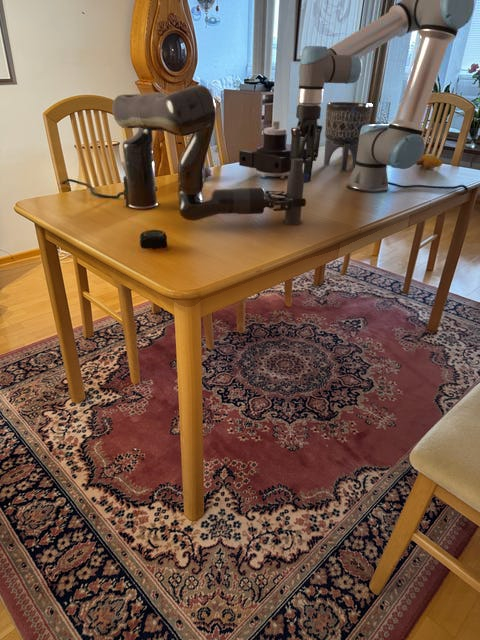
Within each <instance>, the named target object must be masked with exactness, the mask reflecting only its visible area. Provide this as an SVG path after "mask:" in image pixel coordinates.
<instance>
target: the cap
mask: <svg viewBox="0 0 480 640" xmlns="http://www.w3.org/2000/svg"><path fill="white" fill-rule="evenodd" d="M303 175H304V177H303V178H304V184H308V183H310V182H309V174H306V173H303Z"/></svg>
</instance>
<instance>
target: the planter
mask: <svg viewBox="0 0 480 640" xmlns="http://www.w3.org/2000/svg"><path fill="white" fill-rule="evenodd" d="M373 107H374V106H373V104H372V103H367V102H353V101H333V102H327V103H326V109H325V124H324V125H325V126H324V139H325V144H324V156H323V157H324V158H323V165H325V166H328V165H330V163H331V158H332V156H333V154H334V153H335V151H336V150H337V149H340V148H341V152H342V153H341V166H340V170H341V172H345V171H347V167H348V166H347V165H348V159H349V153H348V152H349V150H350V151H351V153H352V154H351V157H352V158H351V159H352V160H351V161H352V166H353V167H355V165H356V158H357V151H358V143H359V135H360V131H361V128H362V127H363V126H364V125H370V121H371V116H372V112H373Z"/></svg>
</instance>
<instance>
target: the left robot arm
mask: <svg viewBox="0 0 480 640" xmlns="http://www.w3.org/2000/svg"><path fill="white" fill-rule="evenodd" d="M216 107H217V106H216V102H215V99H214V96H213V94H212V93H211V91H210V89H209V88H208V87H207V86H205V85H204V84H203V85H202V84H196V85H192V86H189V87H186V88H183V89H180V90H177V91H174V92H172V93H169V94H165V93H163V92H159V91H153V92H152V91H151V92H146V93H138V94H134V93H133V94H132V93H131V94H119V95H117V96H116V97H115V98H114V99H113V102H112V116H113V117H114V121H115V123H116V124H117V125H118V126H119V127H120V128H122V129H138V130H137V132H136V133H135V134H134V135H133V136H132V137H130V138H128V139H126V140H123V142H122V154H123V164H124V172H125V175H124V176H123V179H122V180H123V188H124V189H123V191H120V192H118V193H117V194H116V195H107V194H102V193H97V192H95V190H94V187H92V185H90V184H88V183H86V182H82V181H79V180H76V179H72V178H66V179H67V180H66V179H65V180H66V181H64V180H63V181H62V182H61V184H62V185H64V184H66V183H68V182H71V183H75V184H78V185H82V186H85V187H87V188H88V189H90V193H91V194H92V195H93V196H96V197H100V198H103V199H104V198H106V199H118V198H120V197H121V196H123V199H124V200H125V206H126V207H128V208H130V209H134V210H150V209H153V208H156V207H158V199H157V192H158V187H157V186H156V185H157V184H156V172H155V159H154V133H153V131H154V132H167V133H169V134H171V135H173V136H177V137H187V136H190V135H191V136H190V138H189V140H188V143H187V144H186V146H185V147H184V149H183V151H182V154H181V155H180V158H179V161H178V164H177V183H178V187H177V188H178V189H177V190H178V191H177V192H178V194H177V195H178V196H177V198H178V210H179V215H180V216H181V218H182V219H184V220H186V221H190V222H196V221H200V220H202V219H206V218H209V217H213V216H217V215H230V214H232V215H262V214H263V213H264V212H265V208H266V209H267V208H269V209H270V210H273V212H281V211H285V210H292V208H293V207H302V208H303V207H306V203H307V200H306V198H305V197H304V198H303V197H302V198H300V199H292V198H286V195H287V192H286V191H284V190H265V191H264V188H263V187H237V188H219V189H214V190H213V191H212V192H211V195H210V199H208V200H205V201H204V197H203V189H204V185H205V178H204V171H205V166H206V160H207V155H208V153H209V152H208V151H209V149H210V145H211V141H212V137H213V132H214V128H215V124H216V119H217V108H216ZM287 203H289V205H286V204H287Z"/></svg>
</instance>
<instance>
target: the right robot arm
mask: <svg viewBox="0 0 480 640" xmlns="http://www.w3.org/2000/svg"><path fill="white" fill-rule="evenodd" d="M474 9H475V0H400V1H398V2H397V3H395V4H394V5H392V6H391V7H390V8H389V10H388V12H387V13H386V14H385V13H384V14H383V15H382V16H380V17H378V18H377V19H375V20H373V21H372V22H370V23H368V24H367V25H366V26H363V27H362V28H360V29H358V30H357V31H355V32H353V33H352V34H350V35H348V36H347V37H345V38H344V39H342V40H340V41H338V42H336V43H335V44H334V45H332V46H330V47H329V48H328V47H327V46H323V45H305V46H304V47H303V48H302V50H301V55H300V62H299V76H298V79H299V80H298V91H297V92H298V93H297V103H298V104H297V105H296V113H295V117H296V118H297V119H298V121H297V124H296V127H291V128H290V132H291V133H290V134H291V142H290V144H291V153H290V160H292V159H293V158H300V159H302V157H303V153H304V148H305V149H306V158H307V160H305V162H304V164H303V168H302V170H303V173H306V174H309V182H308V183H310V182H311V181H312V172H313V171H312V170H313V165H314V162H316V161H317V158H318V157H319V150H320V141H321V134H322V132H323V131H322V130H323V125H319V124H318V120H320V119H321V116H322V104H323V97H324V89H325V84H346V85H348V84H355V83H357V81H359V79H360V78H361V75H362V70H363V62H362V60H361V59H362V57H364V56H366V55H367V54H369V53H371V52H373V51H374V50H376V49H377V48H379V47H381V46H382V45H384V44H386V43H388V42H389V41H391V40H393V39H394V38H396V37H398V38H402V37H404V36H406V35H407V34H409V33H413V32H417V34H418V35H419V37H420V41H419V44H418V47H417V50H416V53H415V55H414V56H415V57H414V59H413V63H412V66H411V69H410V73H409V75H408V78H407V82H406V84H405V88H404V90H403V94H402V97H401V99H400V100H401V101H400V103H399V107H398V110H397V112H396V116H395V118H394V119H393V120H392V121H390V122H389V123H388V124H382V123H381V124H369V125H364V126H363V127H362V128H361V131H360V135H359V143H358V151H357V158H356V165H355V166H354V167H353V171H351V174H350V176H349V179H348V182H347V187H348V188H349V189H351V190H354V191H358V192H363V193H364V192H365V193H382V192H386V191H388V189H389V185H390V186H393V187H397V188H401V189H407V188H408V189H410V188H425V189H437V190H438V189H439V190H440V189H441V190H454V189H459V188H463V189H464V190H468V186H466V185H464V184H459V185H454V186H442V185H441V186H439V185H438V186H437V185H426V184H408V185H402V184H398V183H396V182H395V183H394V182H390V181H389V178H388V173H387V172H388V171H387V166H389V167H391V168H393V169H401V170H407V169H409V168H412V167H413V166H415V165H416V163H417V162H418V161H419V159H420V158H421V156H423V154H424V151H425V147H426V144H425V140H424V138H423V133H424V129H423V127H422V122H423V118H424V116H425V113H426V110H427V107H428V104H429V102H430V98H431V96H432V93H433V90H434V87H435V84H436V81H437V78H438V75H439V73H440V68H441V66H442V63H443V60H444V59H445V58H444V57H445V55H446V52H447V48H448V46H449V44H450V43H451V42H453V41H454V40H455V39H456V38H457V34H458V32H459V30H460V29H461V28H464V27H466V24H468V23H469V22H470V20H471V18H472V16H473V15H474V14H473V13H474Z"/></svg>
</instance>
